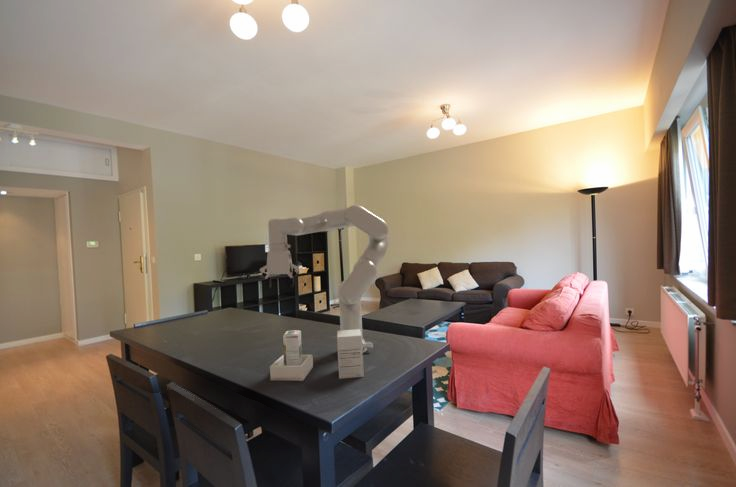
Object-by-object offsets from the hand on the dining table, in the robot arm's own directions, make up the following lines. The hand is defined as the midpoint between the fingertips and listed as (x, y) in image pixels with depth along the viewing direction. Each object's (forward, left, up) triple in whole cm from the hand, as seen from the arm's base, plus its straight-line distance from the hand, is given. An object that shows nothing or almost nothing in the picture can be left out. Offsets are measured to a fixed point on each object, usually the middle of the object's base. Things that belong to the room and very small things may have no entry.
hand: (280, 287), depth 142 cm
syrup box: (-11, +17, -29) cm, 36 cm away
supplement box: (-33, +16, -30) cm, 47 cm away
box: (-11, +17, -30) cm, 36 cm away
